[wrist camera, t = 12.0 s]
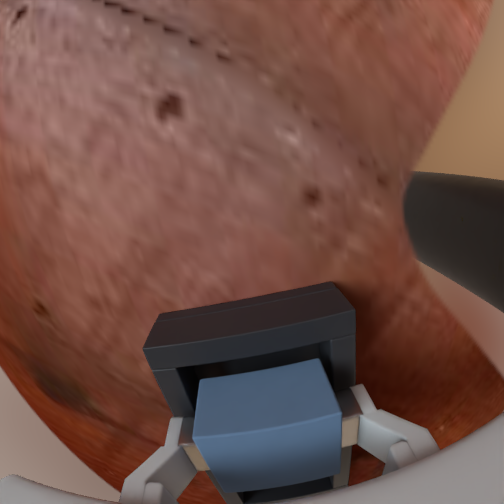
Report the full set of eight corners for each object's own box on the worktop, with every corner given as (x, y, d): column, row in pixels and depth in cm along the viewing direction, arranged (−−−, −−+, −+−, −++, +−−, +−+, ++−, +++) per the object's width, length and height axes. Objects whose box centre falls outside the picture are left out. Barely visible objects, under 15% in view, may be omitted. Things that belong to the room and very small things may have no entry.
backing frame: (331, 280, 12) (355, 309, 10) (337, 460, 16) (347, 490, 13) (158, 313, 12) (141, 348, 10) (231, 479, 16) (232, 511, 13)
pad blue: (319, 356, 10) (343, 412, 7) (324, 423, 11) (340, 474, 8) (199, 378, 10) (191, 438, 7) (224, 440, 11) (224, 493, 8)
